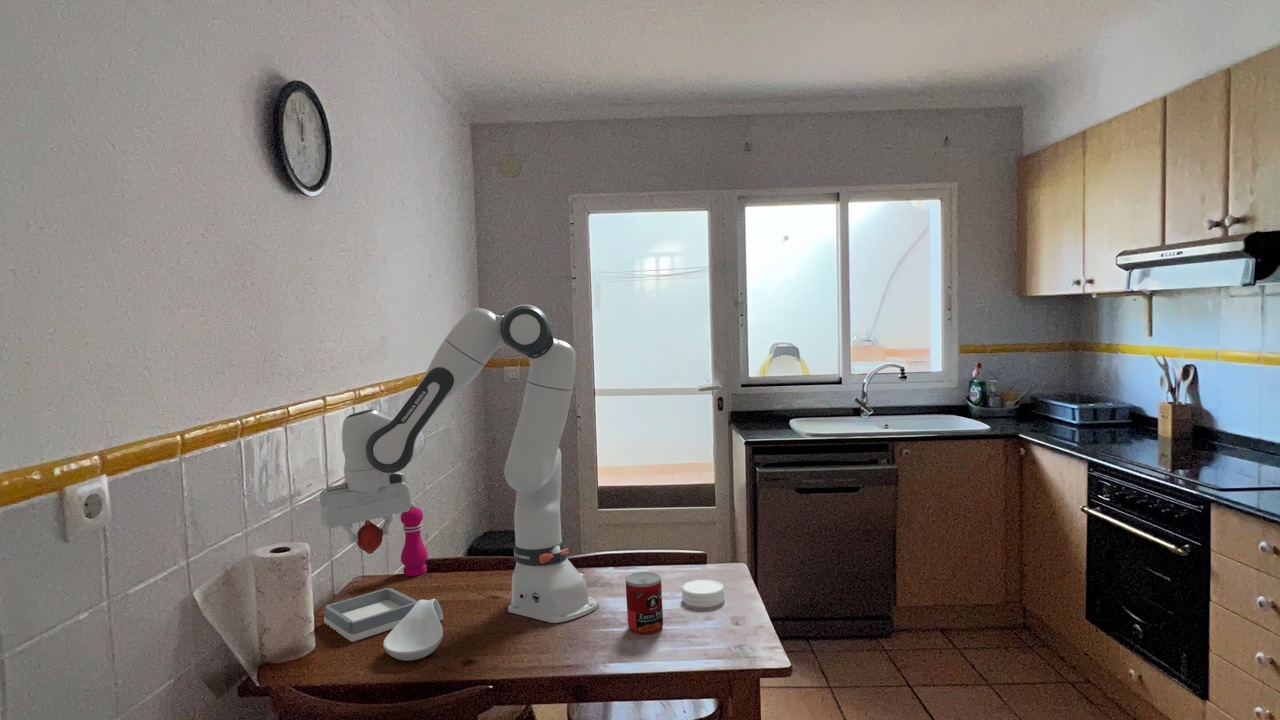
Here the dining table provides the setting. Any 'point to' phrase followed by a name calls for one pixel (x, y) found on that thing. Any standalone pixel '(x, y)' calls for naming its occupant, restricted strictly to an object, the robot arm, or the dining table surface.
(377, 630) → the stand
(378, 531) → the onion
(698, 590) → the white short cylinder
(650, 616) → the canned food
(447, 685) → the dining table surface
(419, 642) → the spoon rest
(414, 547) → the pepper mill
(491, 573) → the dining table surface
